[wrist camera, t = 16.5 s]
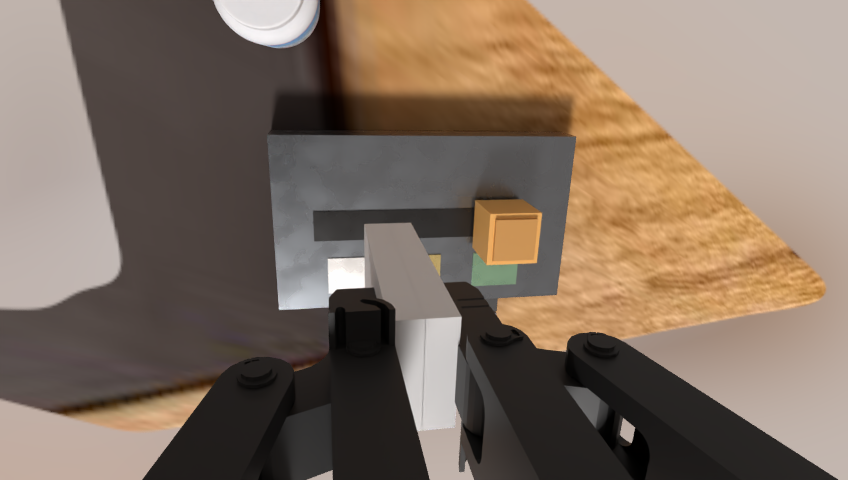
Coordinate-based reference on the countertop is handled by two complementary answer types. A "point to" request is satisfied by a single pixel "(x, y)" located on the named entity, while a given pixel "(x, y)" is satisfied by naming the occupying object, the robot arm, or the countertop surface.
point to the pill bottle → (271, 20)
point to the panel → (410, 204)
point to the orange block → (506, 231)
